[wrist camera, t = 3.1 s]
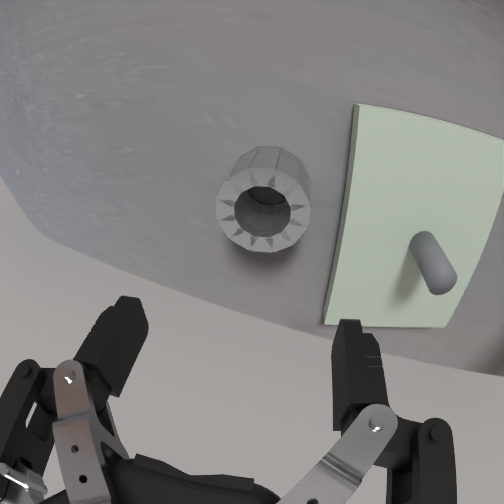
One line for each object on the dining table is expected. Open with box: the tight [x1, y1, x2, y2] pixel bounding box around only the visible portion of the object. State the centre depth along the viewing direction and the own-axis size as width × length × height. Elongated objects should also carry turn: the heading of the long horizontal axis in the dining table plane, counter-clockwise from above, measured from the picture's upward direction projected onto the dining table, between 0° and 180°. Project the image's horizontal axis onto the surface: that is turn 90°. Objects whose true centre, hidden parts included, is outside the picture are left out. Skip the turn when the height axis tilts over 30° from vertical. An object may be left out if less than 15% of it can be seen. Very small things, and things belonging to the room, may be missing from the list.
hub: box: [216, 147, 310, 253], centre depth 21 cm, size 6×6×5 cm
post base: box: [324, 103, 504, 327], centre depth 20 cm, size 20×14×7 cm
